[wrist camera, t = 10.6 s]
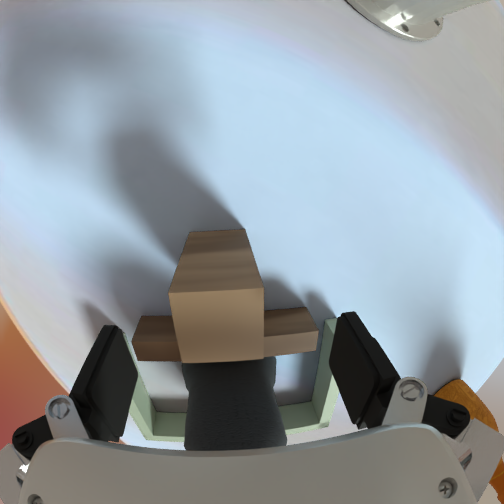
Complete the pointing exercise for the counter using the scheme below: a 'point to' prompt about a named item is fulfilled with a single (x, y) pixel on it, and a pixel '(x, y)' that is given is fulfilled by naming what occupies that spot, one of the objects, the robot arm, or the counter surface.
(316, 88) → the counter surface
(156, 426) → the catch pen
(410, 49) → the counter surface
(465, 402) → the wine bottle
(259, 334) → the wooden cross block
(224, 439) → the mug
